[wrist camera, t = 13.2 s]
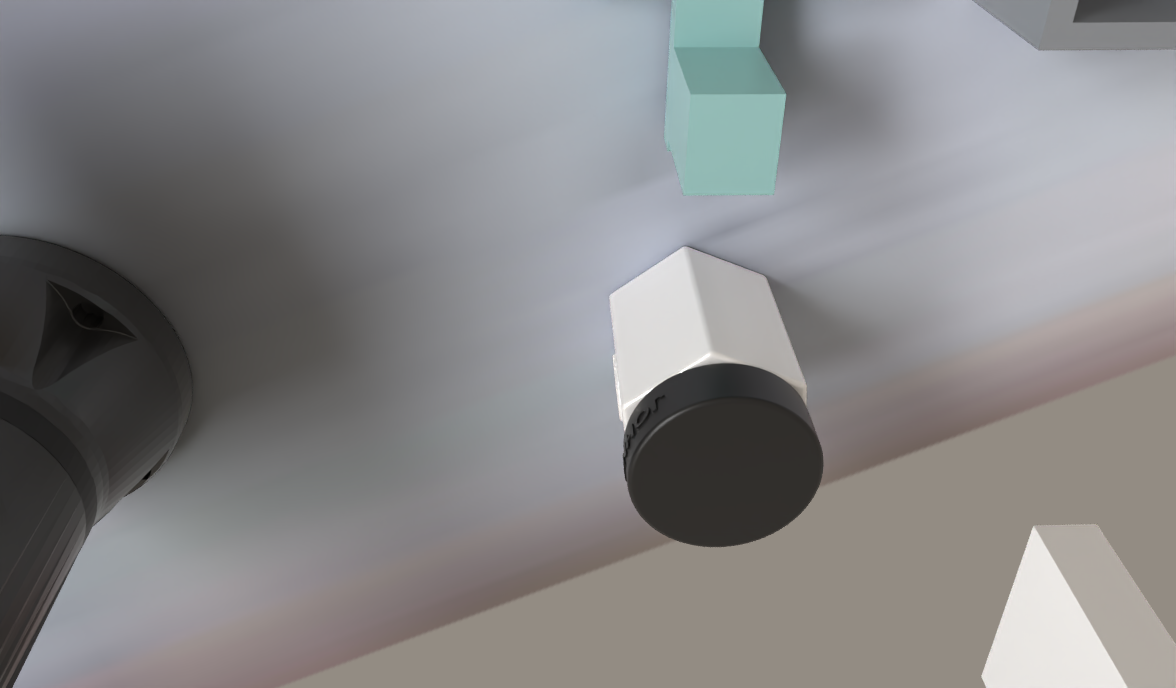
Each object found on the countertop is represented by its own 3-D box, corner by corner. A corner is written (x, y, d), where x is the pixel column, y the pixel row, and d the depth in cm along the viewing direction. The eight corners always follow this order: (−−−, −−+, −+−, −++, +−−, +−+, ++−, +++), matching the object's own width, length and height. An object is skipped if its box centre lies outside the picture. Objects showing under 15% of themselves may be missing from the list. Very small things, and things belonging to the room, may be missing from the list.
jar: (599, 254, 49) (615, 403, 39) (767, 234, 49) (826, 378, 39) (617, 400, 54) (635, 566, 44) (770, 383, 54) (822, 545, 44)
